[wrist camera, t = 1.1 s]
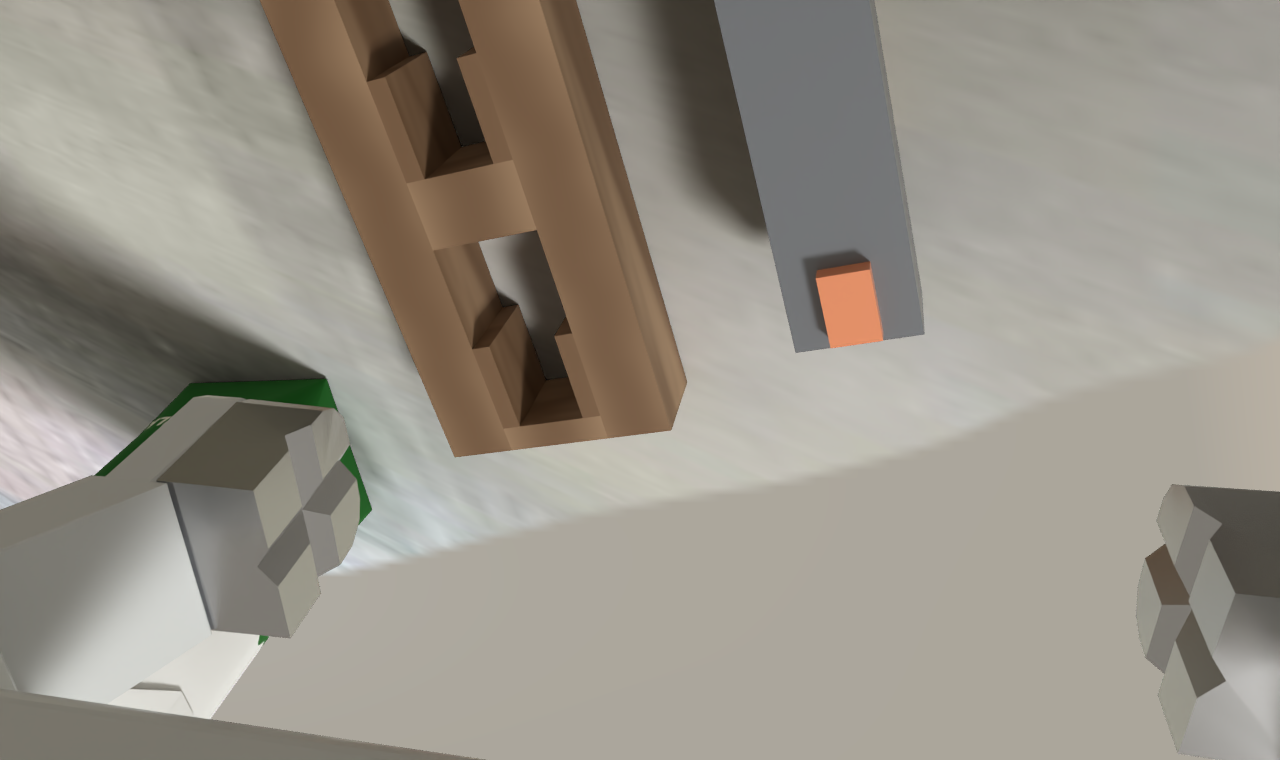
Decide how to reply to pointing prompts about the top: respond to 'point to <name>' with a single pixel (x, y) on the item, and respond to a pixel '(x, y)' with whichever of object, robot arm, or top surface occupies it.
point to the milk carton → (222, 656)
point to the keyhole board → (492, 216)
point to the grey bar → (826, 166)
